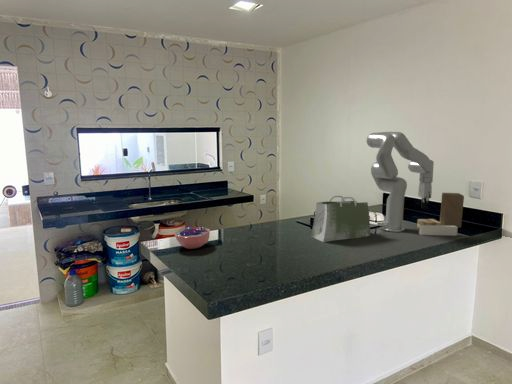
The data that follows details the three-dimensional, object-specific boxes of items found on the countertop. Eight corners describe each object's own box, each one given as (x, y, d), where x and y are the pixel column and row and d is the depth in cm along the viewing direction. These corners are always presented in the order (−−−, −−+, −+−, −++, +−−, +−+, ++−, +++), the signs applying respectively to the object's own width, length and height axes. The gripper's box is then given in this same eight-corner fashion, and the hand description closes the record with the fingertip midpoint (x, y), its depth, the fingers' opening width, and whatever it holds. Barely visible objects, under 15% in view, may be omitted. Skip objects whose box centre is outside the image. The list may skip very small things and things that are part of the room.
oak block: (424, 230, 226) (424, 222, 225) (417, 227, 235) (417, 219, 234) (440, 230, 226) (441, 222, 225) (432, 226, 235) (433, 219, 234)
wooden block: (461, 228, 231) (464, 195, 228) (443, 227, 233) (446, 195, 230) (456, 224, 241) (459, 193, 238) (439, 223, 243) (441, 192, 240)
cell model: (218, 244, 198) (218, 223, 196) (193, 255, 181) (193, 232, 179) (193, 239, 207) (192, 219, 205) (167, 249, 190) (166, 227, 188)
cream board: (420, 234, 216) (421, 226, 215) (418, 233, 219) (419, 225, 218) (456, 235, 215) (457, 227, 214) (454, 234, 218) (455, 225, 217)
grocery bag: (355, 230, 227) (357, 191, 223) (371, 236, 214) (373, 195, 210) (309, 236, 214) (310, 195, 210) (323, 242, 202) (324, 199, 198)
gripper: (415, 178, 244) (414, 205, 247) (424, 181, 229) (422, 211, 232) (427, 177, 243) (426, 205, 247) (437, 181, 229) (435, 211, 232)
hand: (424, 208), depth 239 cm, fingers closed
